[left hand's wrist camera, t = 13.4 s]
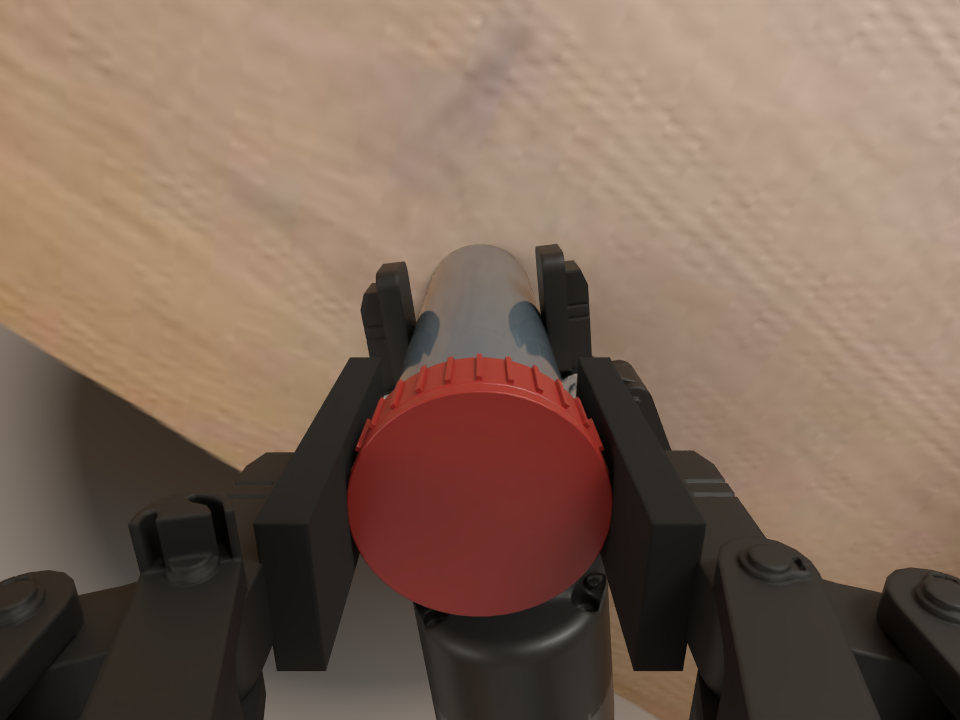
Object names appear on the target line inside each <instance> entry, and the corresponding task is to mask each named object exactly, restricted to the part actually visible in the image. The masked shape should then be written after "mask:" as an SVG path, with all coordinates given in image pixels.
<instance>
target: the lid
mask: <svg viewBox="0 0 960 720" xmlns="http://www.w3.org/2000/svg"><path fill="white" fill-rule="evenodd" d="M603 450H604V447H603V445H602V442H601V440H600V437H599V435H598V432H597V430H596V427H595V425H594V422H593V420H592V418H590V419H587V416H586V414H585V411H584V409H583V406H582V403H581V401H580V399H579V398H578V397H576V398H575V399H574V398H573V397H572V396H571V395H570V394H569V393H568V392H567V391H566V390H565V389H564V387H563V384H562V381H560V380H559V379H557V380H556V381H554V380H553V379H551V378H550V377H548V376H547V375H545V374H543V373H541V372H539V368H538V366H535V365H533V366H532V368H531V367H528V366H525V365H523V364H520V363H517V362H513V361H512V360H511V357H507V356H506V357H505V360H504V359H497V358H488V357H482V354H477V357H470V358H462V359H455V360H454V358H453V356H452V357H448V359H447V362H443V363H439V364H436V365H434V366H431V367H429V368H427V367H426V365H424V366H422V367H421V368H420V372H418V373H416V374H415V375H413V376H411V377H409V378H408V379H407V380H405V381H403V380H402V379H400V380H399V381H398V382H397V384H396V387H395V389H394V390H393V391H392V392H391V393H390V394H389V395H388V396H387V397H386V398H385V399H384V398H382V397H381V398H380V400H379V401H378V404H377V406H376V409H375V412H374V414H373V417H372V419H371V420H370V419H367V421H366V423H365V425H364V428H363V430H362V433H361V435H360V438H359V440H358V443H357V445H356V448H355V451H357V452H358V453H357V456H356V459H355V461H354V464H353V466H352V469H351V474H350V478H349V482H348V487H347V507H348V518H349V527H350V531H351V535H352V537H353V540H354V542H355V544H356V547H357V549H358V551H359V552H360V554H361V555H362V557H363V559H364V560H365V562H366V563H367V564H368V566H369V567H370V568H371V569H372V571H373V572H374V573H375V574H376V575H377V576H378V577H379V578H380V579H381V580H382V581H383V582H384V583H385V584H387V585H388V586H389V587H391V588H392V589H393V590H395V591H396V592H397V593H399V594H401V595H402V596H404V597H406V598H408V599H409V600H411V601H413V602H415V603H418V604H420V605H422V606H425V607H427V608H431V609H434V610H437V611H440V612H445V613H450V614H455V615H462V616H497V615H505V614H510V613H515V612H519V611H523V610H526V609H529V608H532V607H535V606H537V605H539V604H542V603H544V602H546V601H548V600H550V599H552V598H554V597H555V596H557V595H559V594H560V593H562V592H564V591H565V590H566V589H567V588H569V587H570V586H571V585H573V584H574V583H575V582H576V581H577V580H578V579H579V578H580V577H581V576H582V575H583V574H584V573H585V572H586V571H587V570H588V569H589V567H590V566H591V565H592V564H593V562H594V561H595V560H596V558H597V556H598V554H599V553H600V551H601V549H602V547H603V545H604V543H605V540H606V538H607V535H608V533H609V529H610V523H611V513H612V502H613V493H612V485H611V481H610V477H609V469H608V467H607V464H606V462H605V459H604V456H603V454H602V451H603Z"/></svg>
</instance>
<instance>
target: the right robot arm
mask: <svg viewBox="0 0 960 720" xmlns="http://www.w3.org/2000/svg"><path fill="white" fill-rule="evenodd" d="M535 251H536V265H537V277H538V289H539V301H540V313H541V318H542V321H543V324H544V327H545V330H546V333H547V335H548V338H549V341H550V344H551V347H552V350H553V353H554V356H555V359H556V362H557V365H558V368H559V371H560V374H561V377H562V380H563V383H564V386H565V388H566V391H567V392H568V393H569V394H570V395H571V396H572V397H573V398H574V399H575V398H576V386H577V370H578V358H594V357H593V356H592V352H591V333H590V317H589V296H588V284H587V282H586V280H585V278H584V276H583V274H582V272H581V270H580V268H579V267H578V266H577V264H576V263H575V262H574V260H572V261H564V255H563V252H562V250H561V249H560V247H559V246H558V245H557V244H553V245H544V246H536V248H535ZM361 315H362V320H363V325H364V330H365V335H366V339H367V345H368V350H369V356H370V358H381V360H382V376H383V391H384V399H385V398H386V397H387V396H388V395H389V394H390V393H391V392H392V391H393V390H394V387H395V384H396V381H397V378H398V375H399V372H400V369H401V366H402V364H403V361H404V358H405V355H406V352H407V349H408V346H409V343H410V340H411V337H412V334H413V331H414V328H415V325H416V319H415V313H414V307H413V301H412V295H411V289H410V283H409V277H408V271H407V267H406V263H405V262H396V263H388V264H383V265H382V266H381V268H380V269H379V270H378V272H377V273H376V283H372V284H371V285H370V286H369V288H368V289H367V290H366V292H365V293H364V296H363V301H362V306H361ZM612 363H613V364H614V366H615V368H616V369H617V371H618V373H619V375H620V376H621V378H622V380H623V381H624V383H625V385H626V387H627V388H628V390H629V392H630V393H631V395H632V397H633V399H634V400H635V402H636V404H637V405H638V407H639V409H640V411H641V412H642V414H643V416H644V417H645V419H646V421H647V423H648V424H649V426H650V428H651V429H652V431H653V433H654V434H655V436H656V438H657V440H658V441H659V443H660V445H661V446H662V448H663V450H664V451H671V448H670V446H669V443H668V440H667V437H666V435H665V432H664V429H663V426H662V424H661V421H660V418H659V415H658V412H657V410H656V407H655V404H654V401H653V399H652V396H651V394H650V393H649V391H648V390H647V388H646V387H645V385H644V384H643V382H642V381H641V379H640V378H639V376H638V375H637V373H636V372H635V370H634V369H633V367H632V366H631V365H630V364H629V363H628V362H626V361H622V360H616V361H612ZM413 605H414V610H415V615H416V620H417V625H418V630H419V635H420V640H421V645H422V650H423V655H424V660H425V665H426V669H427V674H428V679H429V684H430V689H431V694H432V700H433V704H434V710H435V714H436V719H437V720H614V695H613V674H612V656H611V637H610V617H609V598H608V579H607V576H606V573H605V569H604V566H603V562H602V559H601V555H600V553H599V554H598V556H597V558H596V560H595V561H594V562H593V564H592V565H591V566H590V567H589V569H588V570H587V571H586V572H585V573H584V574H583V575H582V576H581V577H580V578H579V579H578V580H577V581H576V582H575V583H574V584H573V585H571V586H570V587H569V588H567V589H566V590H565V591H564V592H562V593H560V594H559V595H557V596H555V597H554V598H552V599H550V600H548V601H546V602H544V603H542V604H539V605H537V606H535V607H532V608H529V609H526V610H523V611H519V612H515V613H510V614H505V615H497V616H462V615H455V614H450V613H445V612H440V611H437V610H434V609H431V608H427V607H425V606H422V605H420V604H418V603H415V602H413Z"/></svg>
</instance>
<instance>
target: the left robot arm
mask: <svg viewBox="0 0 960 720" xmlns="http://www.w3.org/2000/svg"><path fill="white" fill-rule="evenodd" d="M381 397H382V398H384V391H383V376H382V360H381V358H350V359H349V360H348V362H347V364H346V365H345V367H344V369H343V371H342V372H341V374H340V376H339V377H338V379H337V381H336V383H335V384H334V386H333V388H332V389H331V391H330V393H329V395H328V396H327V398H326V400H325V401H324V403H323V405H322V406H321V408H320V410H319V412H318V413H317V415H316V417H315V418H314V420H313V422H312V424H311V425H310V427H309V429H308V430H307V432H306V434H305V436H304V437H303V439H302V441H301V442H300V444H299V446H298V448H297V449H296V451H295V452H272V453H265V454H263V455H262V456H261V457H259V458H258V459H256V460H255V461H253V462H252V463H250V464H249V465H247V466H246V467H245V469H244V470H243V471H242V473H241V474H240V476H239V477H238V479H237V480H236V481H235V485H233V486H232V487H231V489H230V490H229V491H228V493H227V494H226V495H225V494H224V493H221V492H217V491H213V490H191V491H186V492H182V493H177V494H172V495H170V496H167V497H165V498H162V499H160V500H157V501H155V502H153V503H151V504H150V505H148V506H147V507H145V508H144V509H142V510H141V511H139V512H138V513H137V514H136V515H135V516H134V517H133V518H132V520H131V521H130V522H129V523H128V527H129V531H130V535H131V538H132V542H133V546H134V550H135V554H136V558H137V562H138V566H139V570H140V577H139V579H138V581H137V582H134V583H131V584H127V585H124V586H120V587H115V588H110V589H106V590H101V591H97V592H92V593H87V594H83V595H78V593H77V590H76V587H75V583H74V580H73V579H72V578H71V577H69V576H68V575H67V574H66V573H64V572H57V571H51V570H46V571H38V572H30V573H25V574H22V575H18V576H16V577H12V578H9V579H6V580H3V581H1V582H0V720H263V719H264V709H265V700H266V691H265V684H264V678H263V672H262V669H263V667H264V664H265V662H266V660H267V657H268V655H269V652H270V650H271V647H272V645H273V650H274V656H275V662H276V668H277V671H326V669H327V665H328V662H329V658H330V655H331V651H332V648H333V644H334V641H335V637H336V634H337V630H338V627H339V624H340V620H341V616H342V613H343V609H344V606H345V603H346V599H347V596H348V592H349V589H350V585H351V582H352V578H353V575H354V571H355V568H356V564H357V561H358V557H359V554H360V552H359V551H358V549H357V547H356V544H355V542H354V540H353V537H352V535H351V531H350V527H349V518H348V507H347V487H348V482H349V478H350V474H351V469H352V466H353V464H354V461H355V459H356V456H357V453H358V452H357V451H355V448H356V445H357V443H358V440H359V438H360V435H361V433H362V430H363V428H364V425H365V423H366V421H367V419H370V420H371V419H372V417H373V414H374V412H375V409H376V406H377V404H378V401H379V400H380V398H381ZM576 397H578V398H579V399H580V401H581V403H582V406H583V409H584V411H585V414H586V416H587V419H590V418H592V420H593V422H594V425H595V427H596V430H597V432H598V435H599V437H600V440H601V442H602V445H603V447H604V450H603V451H602V454H603V456H604V459H605V462H606V464H607V467H608V469H609V477H610V481H611V485H612V493H613V502H612V513H611V523H610V529H609V533H608V535H607V538H606V540H605V543H604V545H603V547H602V549H601V551H600V555H601V559H602V562H603V566H604V569H605V573H606V576H607V579H608V583H609V586H610V590H611V593H612V597H613V600H614V604H615V607H616V611H617V614H618V618H619V621H620V625H621V628H622V632H623V635H624V639H625V642H626V646H627V649H628V653H629V656H630V660H631V663H632V666H633V670H634V671H683V666H684V660H685V654H686V648H687V643H688V645H689V648H690V650H691V653H692V655H693V658H694V660H695V662H696V665H697V667H698V672H697V678H696V684H695V689H694V695H693V701H692V707H691V712H690V718H689V720H960V579H959V578H957V577H954V576H951V575H948V574H943V573H942V572H937V571H934V570H928V569H919V568H905V569H899V570H895V571H894V572H893V573H891V574H890V575H889V576H888V577H887V578H886V582H885V585H884V588H883V592H882V593H880V592H875V591H871V590H866V589H861V588H857V587H852V586H847V585H843V584H838V583H834V582H831V581H827V580H824V579H822V578H821V576H820V573H819V572H818V571H817V569H816V568H815V566H814V565H813V564H812V562H811V561H810V560H809V559H807V558H806V557H805V556H803V555H802V554H801V553H800V552H798V551H797V550H795V549H793V548H791V547H789V546H787V545H785V544H782V543H780V542H778V541H774V540H770V539H767V538H766V537H765V536H764V534H763V533H762V531H761V530H760V529H759V527H758V526H757V524H756V523H755V522H754V520H753V519H752V517H751V516H750V515H749V513H748V512H747V510H746V509H745V508H744V506H743V505H742V503H741V502H740V500H739V499H738V498H737V497H735V496H734V492H733V491H732V489H731V488H730V486H729V485H728V484H727V483H725V479H724V478H723V477H722V475H721V474H720V472H719V471H718V470H717V468H716V467H715V465H714V464H713V463H711V462H710V461H708V460H707V459H705V458H704V457H702V456H701V455H699V454H698V453H696V452H695V451H664V450H663V448H662V446H661V445H660V443H659V441H658V440H657V438H656V436H655V434H654V433H653V431H652V429H651V428H650V426H649V424H648V423H647V421H646V419H645V417H644V416H643V414H642V412H641V411H640V409H639V407H638V405H637V404H636V402H635V400H634V399H633V397H632V395H631V393H630V392H629V390H628V388H627V387H626V385H625V383H624V381H623V380H622V378H621V376H620V375H619V373H618V371H617V369H616V368H615V366H614V364H613V363H612V361H611V359H610V358H578V370H577V386H576Z"/></svg>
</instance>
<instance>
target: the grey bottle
mask: <svg viewBox="0 0 960 720" xmlns="http://www.w3.org/2000/svg"><path fill="white" fill-rule="evenodd" d="M477 354H482V357H488V358H497V359H504V360H505V357H506V356H507V357H511V360H512V361H513V362H517V363H520V364H523V365H525V366H528V367H531V368H532V366H533V365H535V366H538V368H539V372H541V373H543V374H545V375H547V376H548V377H550V378H551V379H553V380H554V381H556V380H557V379H559V380H560V381H562V384H563V387H564V389H565V390H566V388H565V386H564V383H563V380H562V377H561V374H560V371H559V368H558V365H557V362H556V359H555V356H554V353H553V350H552V347H551V344H550V341H549V338H548V335H547V333H546V330H545V327H544V324H543V321H542V318H541V315H540V312H539V309H538V306H537V303H536V300H535V297H534V294H533V291H532V288H531V285H530V282H529V279H528V277H527V274H526V272H525V271H524V269H523V267H522V266H521V264H520V263H519V262H518V261H517V260H516V259H515V258H514V257H513V256H512V255H510V254H509V253H507V252H506V251H504V250H502V249H500V248H497V247H494V246H490V245H470V246H466V247H462V248H460V249H458V250H456V251H454V252H452V253H451V254H449V255H448V256H447V257H445V258H444V259H443V260H442V262H441V263H440V264H439V265H438V267H437V268H436V270H435V272H434V273H433V276H432V279H431V281H430V284H429V287H428V290H427V293H426V296H425V299H424V302H423V305H422V308H421V311H420V314H419V317H418V320H417V322H416V325H415V328H414V331H413V334H412V337H411V340H410V343H409V346H408V349H407V352H406V355H405V358H404V361H403V364H402V366H401V369H400V372H399V375H398V378H397V381H396V384H397V382H398V381H399V380H400V379H402V380H403V381H405V380H407V379H408V378H409V377H411V376H413V375H415V374H416V373H418V372H420V368H421V367H422V366H424V365H426V367H427V368H429V367H431V366H434V365H436V364H439V363H443V362H447V359H448V357H452V356H453V358H454V360H455V359H462V358H470V357H477ZM396 384H395V387H396ZM395 387H394V389H395Z"/></svg>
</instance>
